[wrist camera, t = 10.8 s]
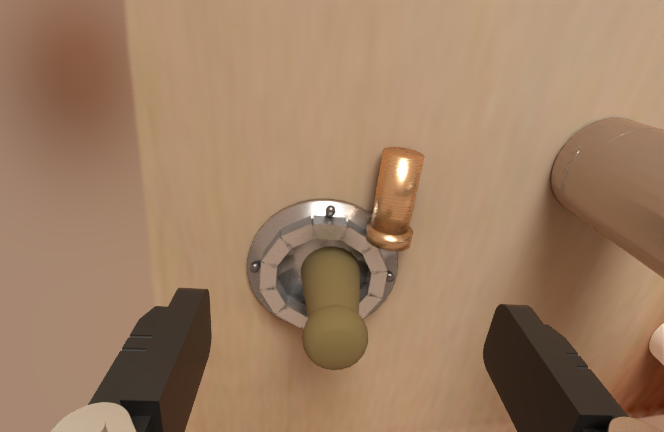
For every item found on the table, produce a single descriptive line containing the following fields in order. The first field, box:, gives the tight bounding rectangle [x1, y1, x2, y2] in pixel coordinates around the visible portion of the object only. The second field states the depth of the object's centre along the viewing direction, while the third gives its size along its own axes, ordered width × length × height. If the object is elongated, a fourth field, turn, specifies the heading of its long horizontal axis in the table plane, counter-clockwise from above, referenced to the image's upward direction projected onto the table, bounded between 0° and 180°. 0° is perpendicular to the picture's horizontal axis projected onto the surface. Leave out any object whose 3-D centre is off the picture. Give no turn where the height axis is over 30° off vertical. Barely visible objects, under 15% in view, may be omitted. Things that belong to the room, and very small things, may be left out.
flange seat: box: [247, 199, 398, 329], centre depth 40 cm, size 15×15×2 cm
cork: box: [300, 246, 368, 370], centre depth 35 cm, size 6×6×11 cm
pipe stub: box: [366, 147, 424, 251], centre depth 36 cm, size 8×4×4 cm, turn 175°
